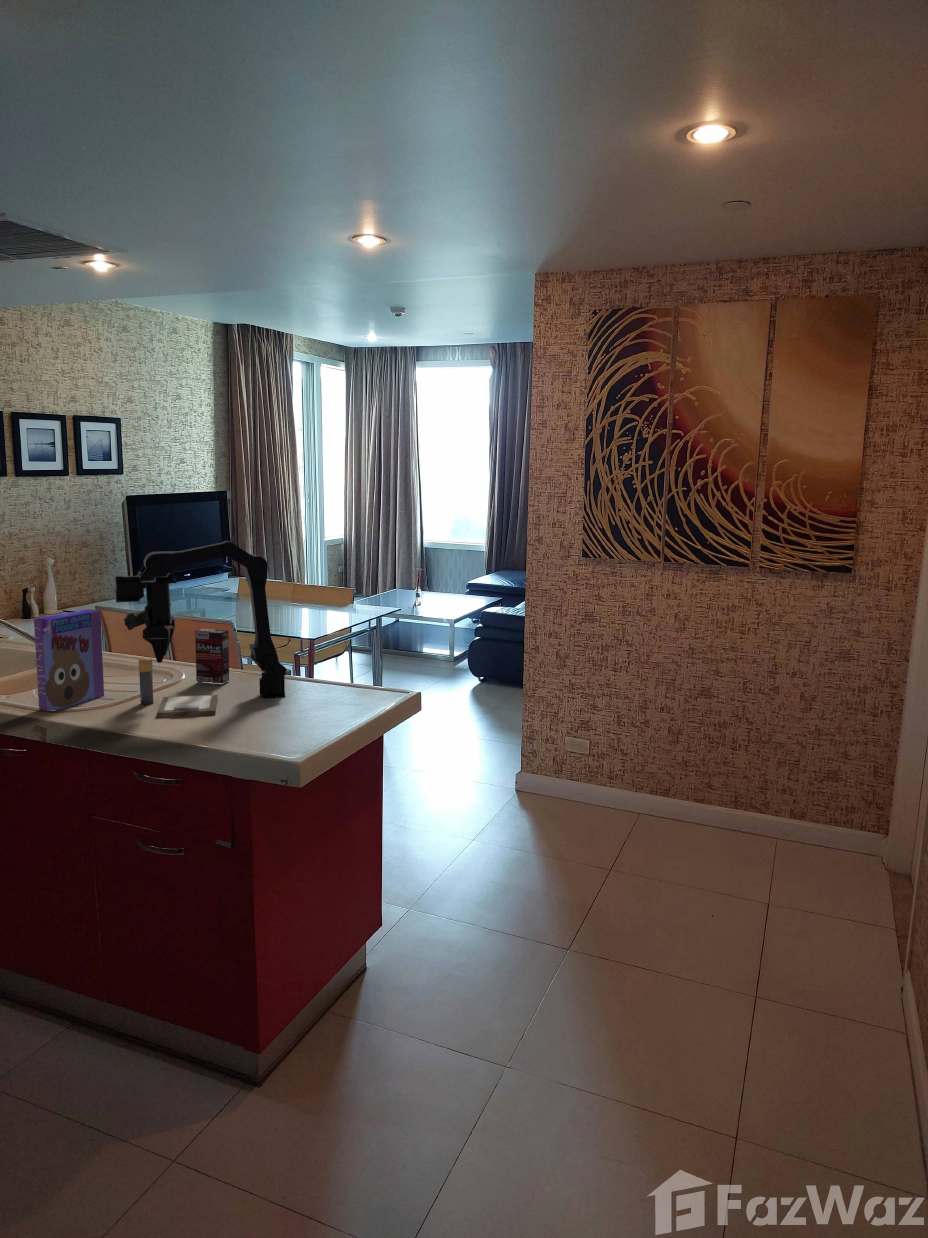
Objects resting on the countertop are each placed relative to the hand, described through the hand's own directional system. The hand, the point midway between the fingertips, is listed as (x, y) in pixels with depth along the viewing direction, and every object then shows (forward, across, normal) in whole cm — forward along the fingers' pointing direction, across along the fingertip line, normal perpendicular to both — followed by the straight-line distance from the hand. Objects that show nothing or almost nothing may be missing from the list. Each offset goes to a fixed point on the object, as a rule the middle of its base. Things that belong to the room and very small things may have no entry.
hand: (161, 658), depth 212 cm
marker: (+12, -2, -4) cm, 13 cm away
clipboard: (+13, +4, +6) cm, 15 cm away
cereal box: (+12, -6, -24) cm, 27 cm away
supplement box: (+13, -23, +11) cm, 29 cm away
